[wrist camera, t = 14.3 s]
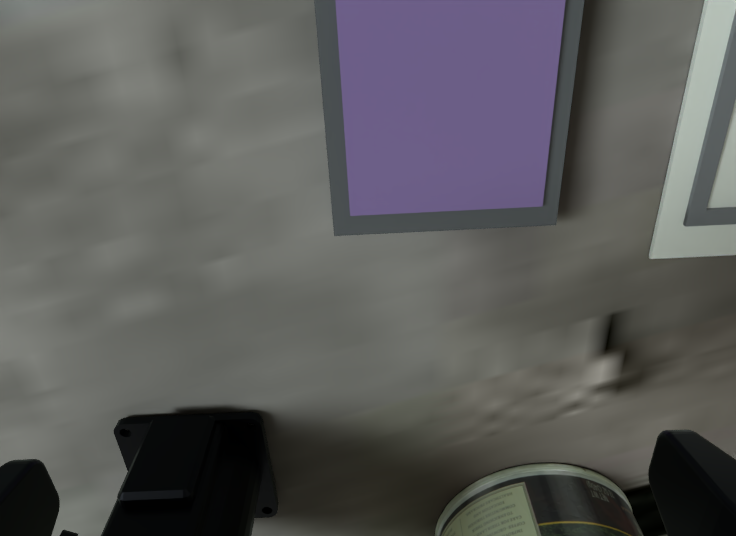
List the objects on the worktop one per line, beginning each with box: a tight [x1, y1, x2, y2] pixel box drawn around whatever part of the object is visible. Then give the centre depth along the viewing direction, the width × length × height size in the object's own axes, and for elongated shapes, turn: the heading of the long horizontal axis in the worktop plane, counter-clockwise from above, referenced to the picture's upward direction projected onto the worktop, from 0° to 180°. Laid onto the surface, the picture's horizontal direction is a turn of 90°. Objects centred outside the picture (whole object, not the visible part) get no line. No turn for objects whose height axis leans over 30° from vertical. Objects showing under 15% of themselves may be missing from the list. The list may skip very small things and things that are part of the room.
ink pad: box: [314, 0, 584, 236], centre depth 17 cm, size 10×8×2 cm
